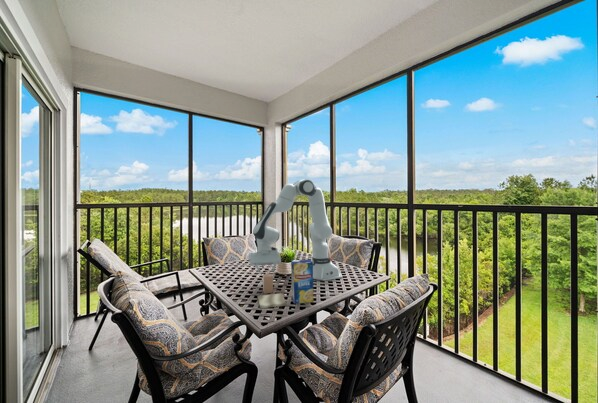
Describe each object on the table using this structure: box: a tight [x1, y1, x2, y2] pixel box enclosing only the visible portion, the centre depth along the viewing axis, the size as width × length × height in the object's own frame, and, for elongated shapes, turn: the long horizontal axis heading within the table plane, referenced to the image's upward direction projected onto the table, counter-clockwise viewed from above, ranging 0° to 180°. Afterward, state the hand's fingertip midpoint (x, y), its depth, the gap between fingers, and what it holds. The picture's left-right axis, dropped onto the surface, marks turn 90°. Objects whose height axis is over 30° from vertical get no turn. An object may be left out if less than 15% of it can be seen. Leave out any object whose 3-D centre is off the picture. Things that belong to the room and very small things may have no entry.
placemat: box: [257, 292, 287, 310], centre depth 143 cm, size 14×14×1 cm
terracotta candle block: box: [262, 273, 274, 295], centre depth 157 cm, size 5×5×10 cm
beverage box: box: [290, 259, 314, 305], centre depth 144 cm, size 7×11×22 cm, turn 104°
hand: (266, 270), depth 162 cm, fingers open, 8 cm apart
